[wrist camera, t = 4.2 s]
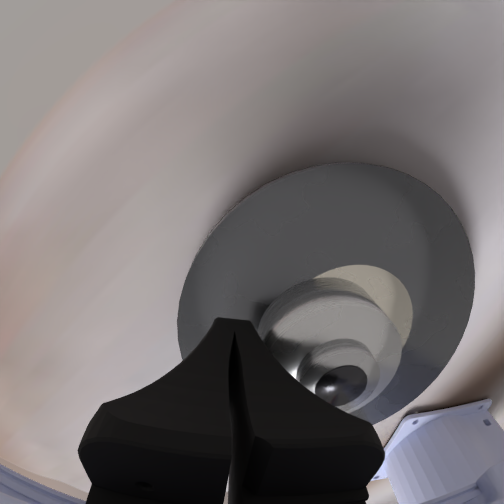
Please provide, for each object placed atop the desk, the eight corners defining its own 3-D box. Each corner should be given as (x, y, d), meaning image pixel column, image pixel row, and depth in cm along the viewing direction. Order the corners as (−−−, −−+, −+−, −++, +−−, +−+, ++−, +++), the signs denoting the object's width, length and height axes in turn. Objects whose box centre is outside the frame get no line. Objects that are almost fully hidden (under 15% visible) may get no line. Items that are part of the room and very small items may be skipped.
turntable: (483, 198, 12) (503, 204, 11) (403, 413, 17) (412, 429, 15) (199, 136, 11) (192, 134, 10) (180, 411, 15) (176, 431, 14)
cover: (392, 283, 12) (433, 322, 9) (357, 382, 13) (380, 431, 10) (267, 270, 11) (278, 314, 8) (248, 379, 13) (251, 436, 10)
